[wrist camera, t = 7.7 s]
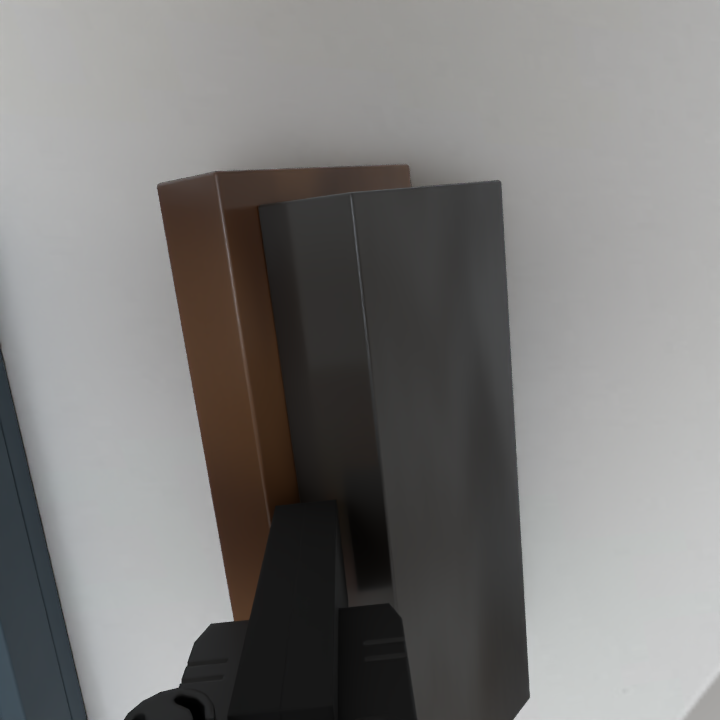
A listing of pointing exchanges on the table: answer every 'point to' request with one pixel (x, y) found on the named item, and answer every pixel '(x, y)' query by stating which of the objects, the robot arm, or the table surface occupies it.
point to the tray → (29, 596)
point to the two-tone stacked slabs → (364, 400)
